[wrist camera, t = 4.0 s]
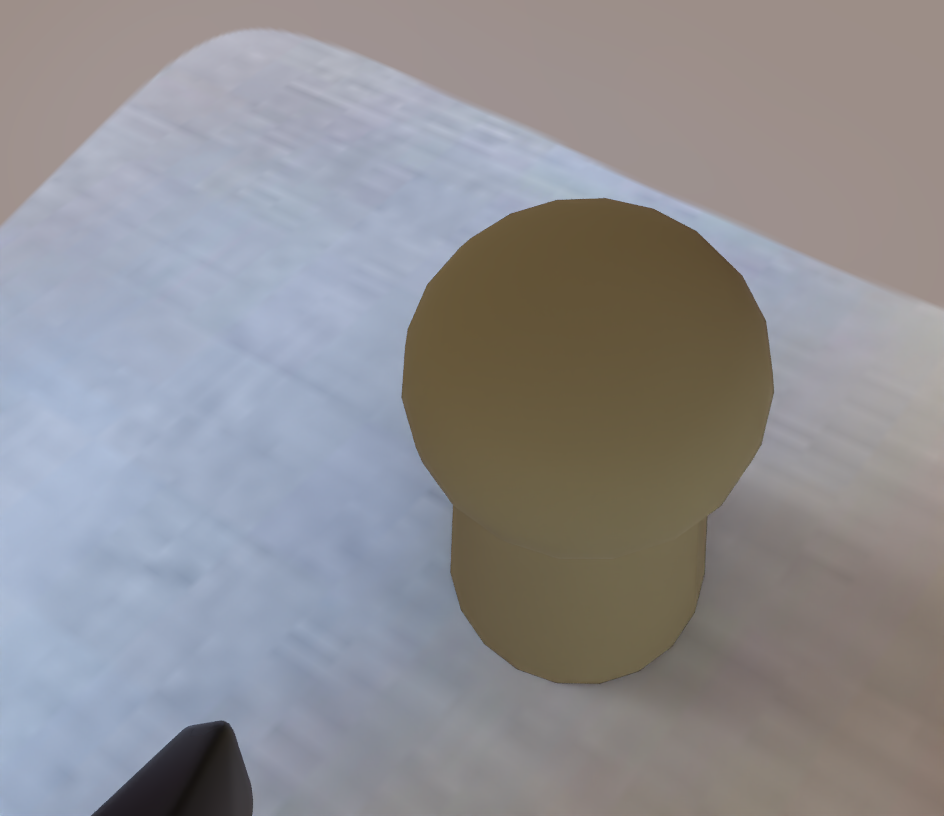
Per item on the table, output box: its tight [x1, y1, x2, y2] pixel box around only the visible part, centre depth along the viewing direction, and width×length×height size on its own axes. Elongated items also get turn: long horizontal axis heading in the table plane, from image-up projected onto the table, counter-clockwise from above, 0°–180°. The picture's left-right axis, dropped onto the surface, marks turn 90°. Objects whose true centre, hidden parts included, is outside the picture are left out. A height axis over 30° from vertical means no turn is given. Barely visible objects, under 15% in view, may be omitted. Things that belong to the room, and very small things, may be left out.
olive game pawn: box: [402, 198, 774, 684], centre depth 16 cm, size 6×6×11 cm
